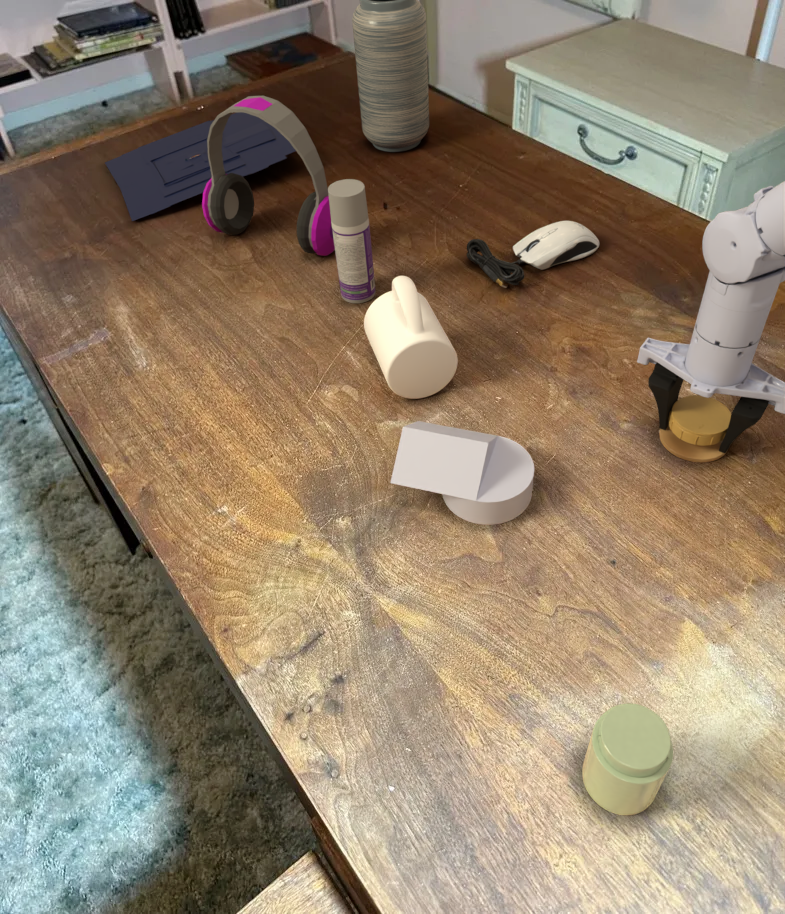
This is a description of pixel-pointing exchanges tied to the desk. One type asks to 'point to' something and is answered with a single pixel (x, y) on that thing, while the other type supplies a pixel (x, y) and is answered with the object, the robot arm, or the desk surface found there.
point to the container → (352, 240)
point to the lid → (699, 420)
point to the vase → (392, 72)
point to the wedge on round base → (466, 471)
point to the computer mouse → (536, 251)
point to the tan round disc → (689, 448)
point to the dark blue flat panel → (193, 162)
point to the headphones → (233, 197)
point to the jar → (627, 759)
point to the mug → (409, 342)
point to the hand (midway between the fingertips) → (694, 434)
